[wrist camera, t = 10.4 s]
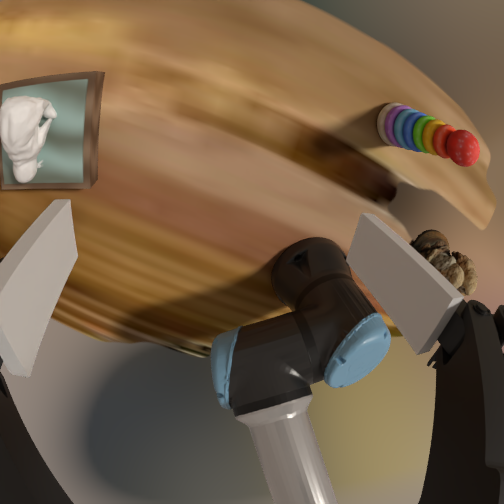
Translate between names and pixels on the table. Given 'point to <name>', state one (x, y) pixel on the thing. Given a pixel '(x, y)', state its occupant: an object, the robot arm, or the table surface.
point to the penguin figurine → (24, 132)
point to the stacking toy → (426, 134)
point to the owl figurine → (447, 261)
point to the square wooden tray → (61, 131)
